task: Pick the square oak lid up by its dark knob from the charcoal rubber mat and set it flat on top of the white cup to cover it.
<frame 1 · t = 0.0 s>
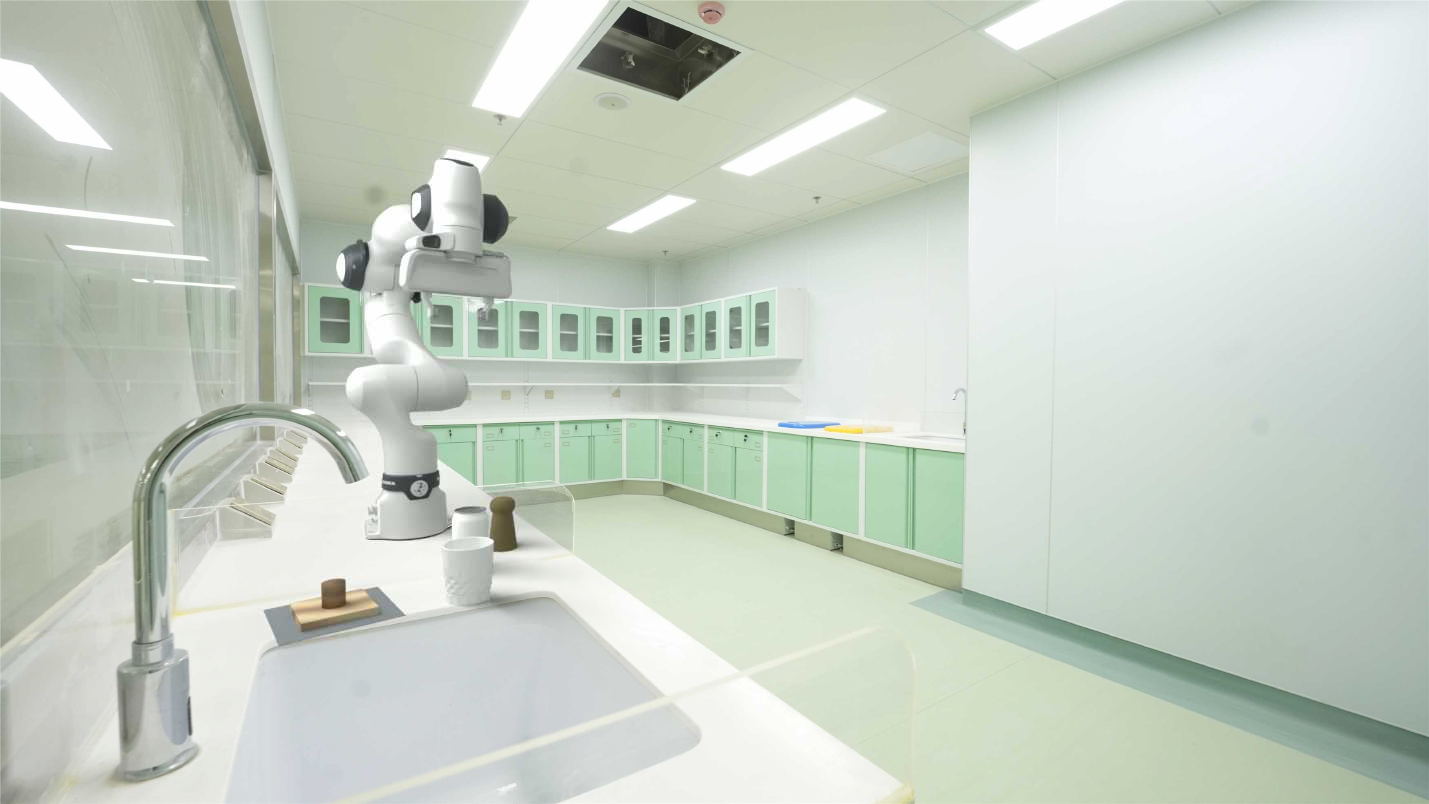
hand: (458, 319, 118), 48 cm above the counter, fingers open, 8 cm apart
olive pepper grinder: (502, 548, 133), on the counter
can: (470, 572, 117), on the counter
lid: (334, 612, 95), point 1 cm above the counter, touching mat
mat: (334, 617, 95), on the counter
white cup: (468, 603, 102), on the counter
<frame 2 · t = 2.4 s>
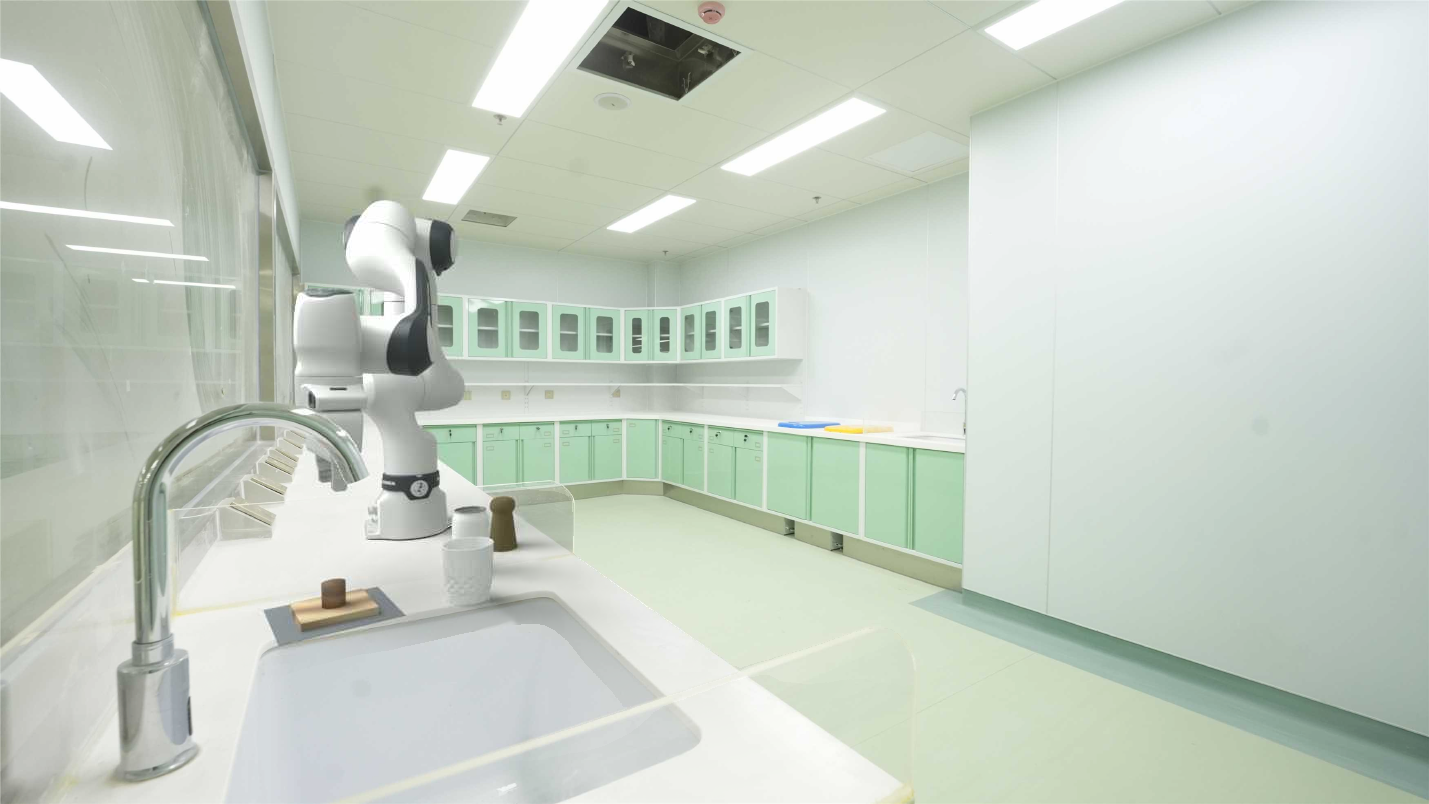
hand: (332, 486, 94), 21 cm above the counter, fingers open, 8 cm apart
nothing on the counter moved.
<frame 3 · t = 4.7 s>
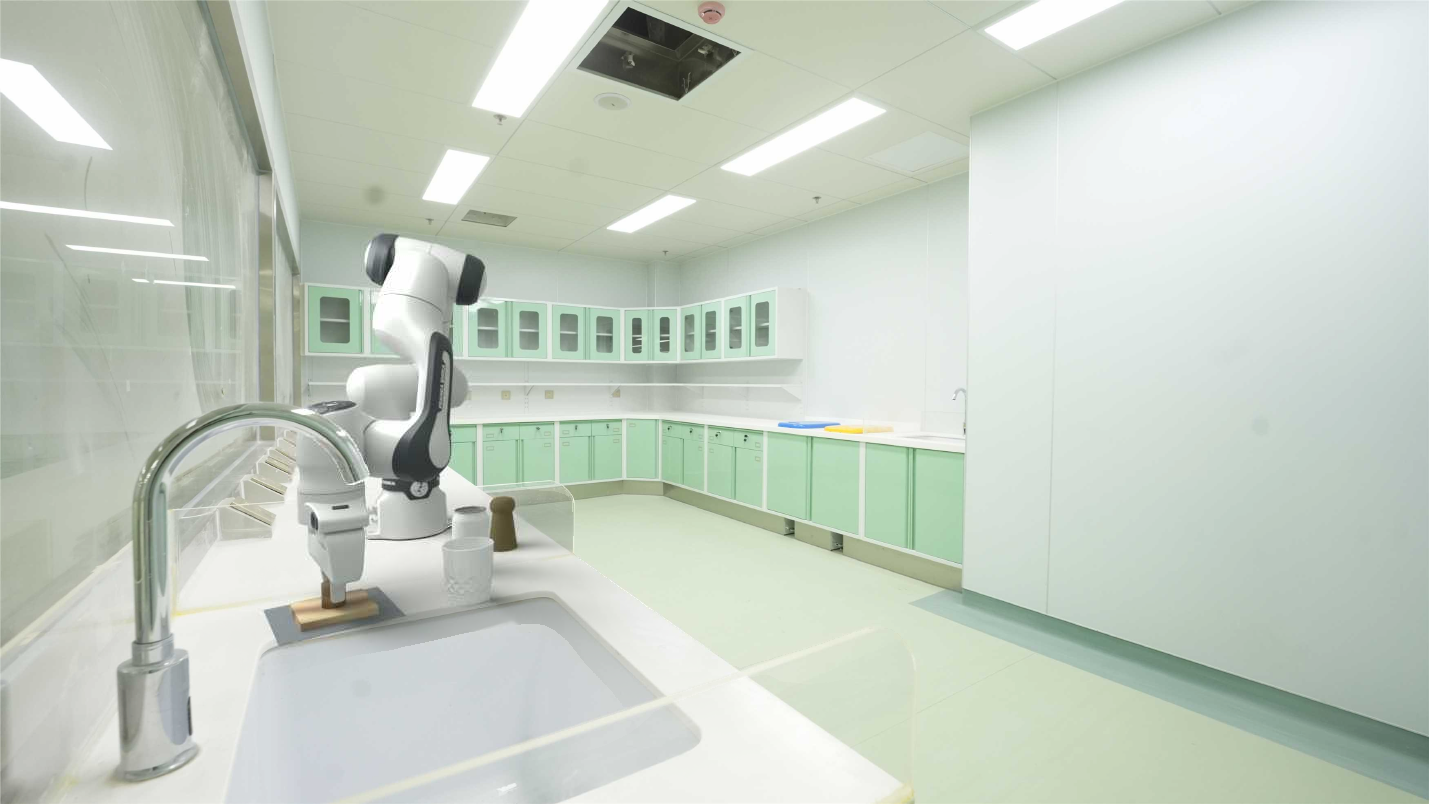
hand: (333, 596, 95), 3 cm above the counter, fingers closed on lid, 3 cm apart
lid: (334, 612, 95), point 1 cm above the counter, touching gripper, mat
everything else where it was.
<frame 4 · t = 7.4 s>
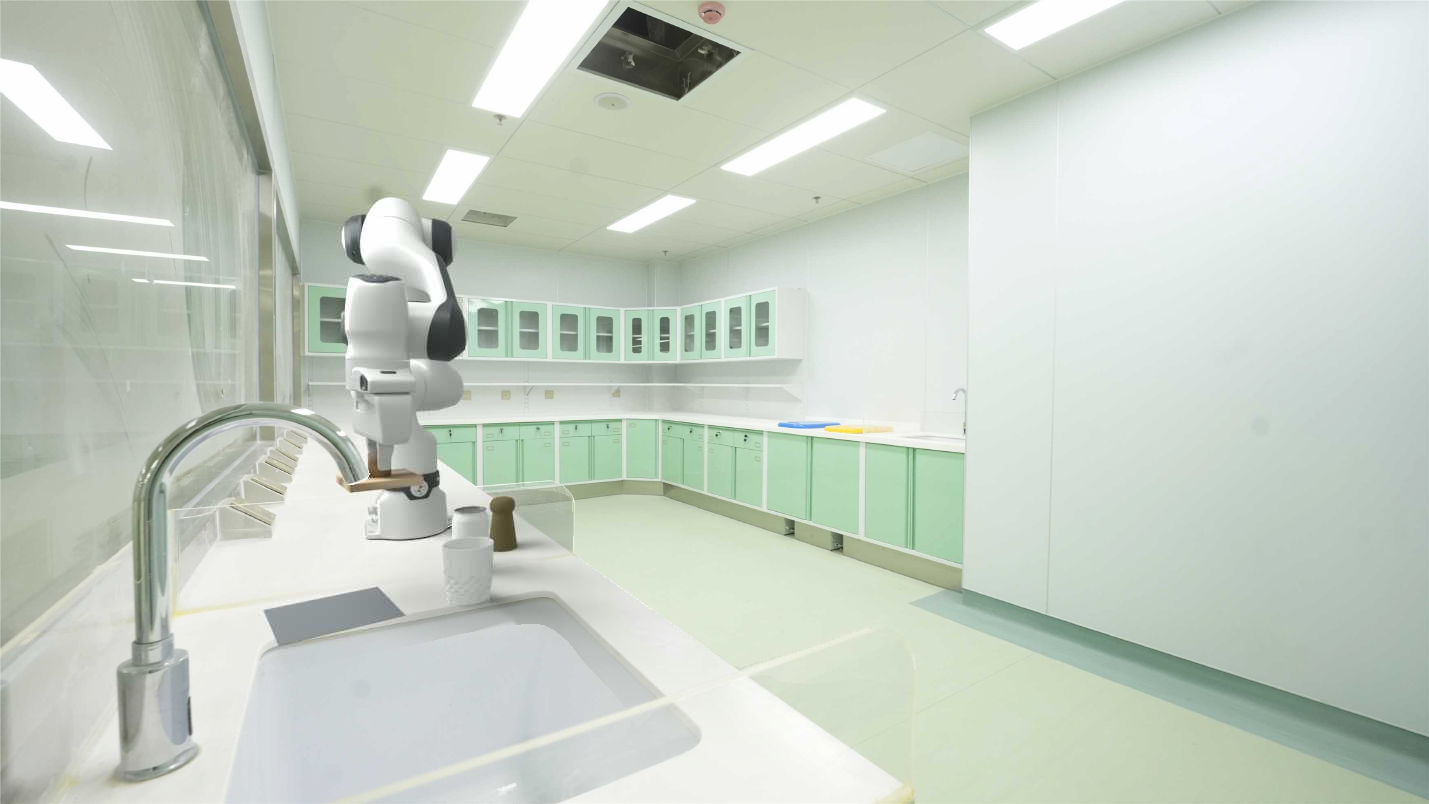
hand: (380, 467, 96), 23 cm above the counter, fingers closed on lid, 3 cm apart
lid: (379, 483, 96), point 21 cm above the counter, touching gripper
everything else where it was.
when the fingers open (14 cm above the counter, at t = 10.1 s): lid drops 2 cm, resting on white cup.
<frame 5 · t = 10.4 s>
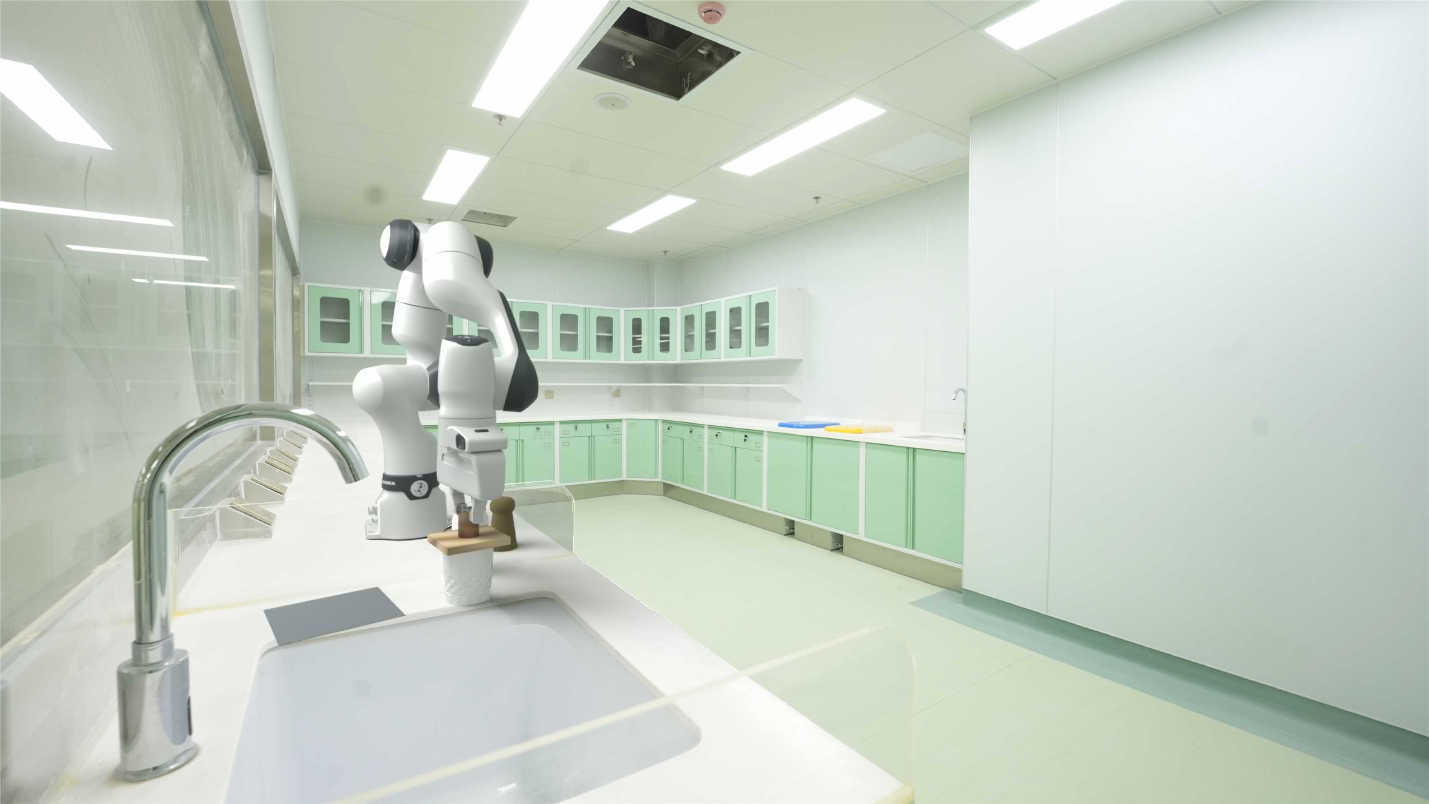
hand: (468, 518, 101), 14 cm above the counter, fingers open, 6 cm apart
lid: (468, 542, 102), point 10 cm above the counter, touching white cup
white cup: (468, 603, 102), on the counter, touching lid
everything else where it was.
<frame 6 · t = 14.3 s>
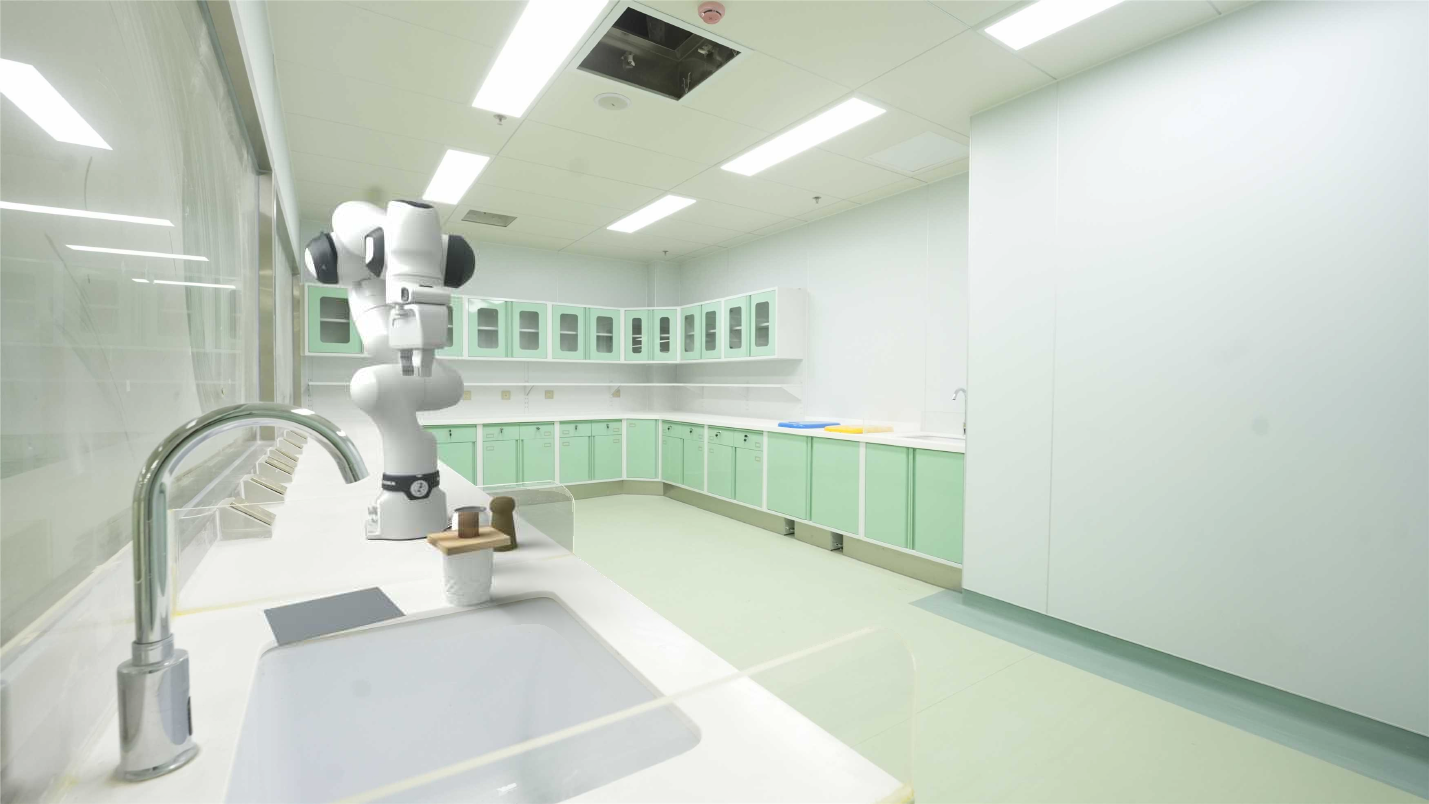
hand: (416, 376, 107), 37 cm above the counter, fingers open, 8 cm apart
nothing on the counter moved.
at the end: lid 0.1 cm off-centre on the white cup, point 10.2 cm above the white cup's base; lid tilted 0°; white cup tilted 0° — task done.
